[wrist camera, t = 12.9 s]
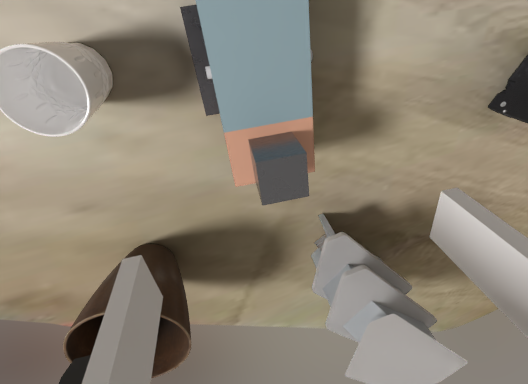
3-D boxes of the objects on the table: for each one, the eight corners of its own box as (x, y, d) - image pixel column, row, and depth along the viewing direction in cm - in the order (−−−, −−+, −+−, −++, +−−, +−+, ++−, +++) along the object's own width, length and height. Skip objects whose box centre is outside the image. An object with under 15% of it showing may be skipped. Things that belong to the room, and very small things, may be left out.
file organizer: (354, 312, 68) (408, 421, 50) (227, 263, 54) (237, 392, 35) (440, 236, 59) (545, 335, 41) (316, 153, 45) (392, 250, 26)
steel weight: (248, 139, 32) (255, 162, 27) (291, 131, 33) (306, 152, 28) (254, 177, 35) (262, 205, 30) (294, 170, 35) (308, 196, 30)
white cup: (107, 35, 32) (72, 42, 24) (126, 106, 36) (101, 133, 28) (31, 37, 31) (-35, 45, 23) (59, 109, 35) (12, 139, 27)
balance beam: (168, -101, 23) (164, -111, 21) (302, -118, 24) (310, -129, 22) (230, 179, 37) (231, 187, 35) (313, 163, 38) (318, 170, 36)
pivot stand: (181, 7, 32) (175, 6, 27) (303, -12, 33) (320, -16, 28) (206, 113, 38) (205, 128, 33) (308, 95, 39) (322, 107, 34)
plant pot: (101, 285, 51) (62, 381, 38) (106, 217, 44) (62, 306, 31) (186, 292, 55) (179, 381, 42) (204, 232, 49) (202, 315, 35)
